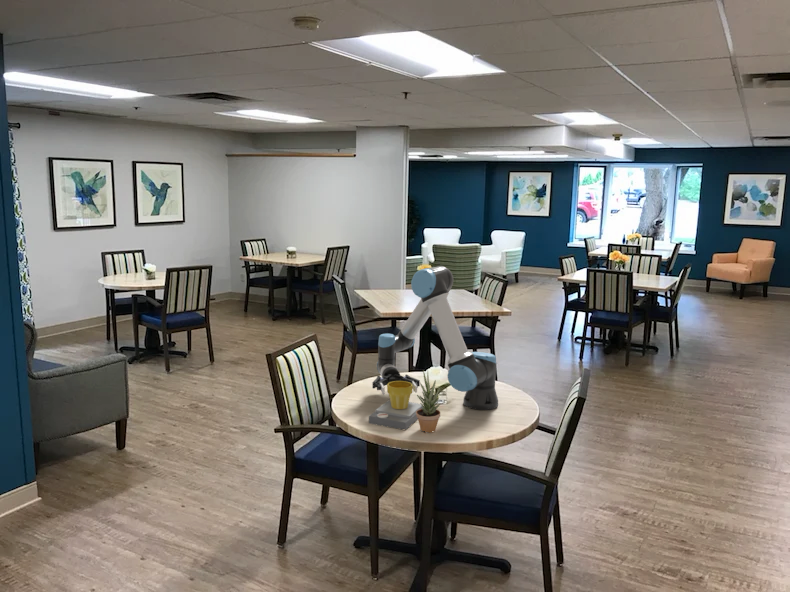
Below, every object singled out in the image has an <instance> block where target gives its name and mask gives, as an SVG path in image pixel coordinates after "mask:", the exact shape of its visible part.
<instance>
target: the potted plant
mask: <svg viewBox="0 0 790 592" xmlns="http://www.w3.org/2000/svg"><path fill="white" fill-rule="evenodd" d="M422 373H423V381H424V385H425V387H424V385H423V384H422V383H421V381H420V387H421V389H422V391H421V393H422V396H423V397H422V396H421V395H418V394H416V396H417V399H419V401H420V403H419V404H421V405H422V406H423V407H424V408H422V409H419V410H417V411H416V416H417V418H418V420H417V421H418V424H419V430H420V431H421V430H422V431H425V432H424V433H426V432H431V433H433V432H432V431H434V432H436V429H437V426H438V423H439V419H440V417H441V411H440V410H439V409H438V408H439V407H440V406H441V404H442V403H439V401H438V400H439V398H440V397H439V392H440V390H441V389H440V387H438V390H437V391H436V392H435V387H436V382H437V381H436V379H434V381H433V384H432V387H431V385H430V379H429V378H430V377H429V370H427V376H426V375H425V370H422ZM426 377H427V378H426ZM434 392H435V393H434ZM438 403H439V404H438ZM422 431H421V432H422Z"/></svg>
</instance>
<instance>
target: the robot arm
mask: <svg viewBox="0 0 790 592" xmlns="http://www.w3.org/2000/svg"><path fill="white" fill-rule="evenodd" d="M453 285H454V275H453V273H452V271H451V270H450V269H449V268H447V267H445V266H443V265H436V266H433V267H425V268H422V269H419V270H417V271H416V272H415V273H414V274H413V276H412V278H411V282H410V286H411V291H412V293H414V295H415V296H417V297H418V298H420V300H419V301H418V303H417V304H416V306H415V308H414V309H413V311H412V312H411V313H410V315H409V317H408V319H406V321H405V323H404V324H403V326H402V328H401V329H400V330H399V332H398V333H397V334H396V335H394V334H393V333H382V334H380V335H379V336H378V343H377V346H378V350H377V354H378V358H377V362H376V370H377V372H378V373H379V374H380V375H377V377H376V378H375V379H374V380H373V381H372V389H376V390H377V391H381V392H380V393H382V395H385V393H386V392H385V390H386V389H385V386H387V384H388V383H389V382H392V381H406V382H410V383H411V384H412V391H413V392H415V393H417V392H418V387H421V385H420V382H421V381H420V380H419V379H417V378H415V377H412V376H410V375H408V374H405V376H404V375H403V376H402V375H401V374H400V372H399V370H398V369H397V367H396V366H395V364H396V363H395V359H396V353H399V352H402V351H404V350H408V349H411V348H412V347H413V346H414V344H415V343H416V339H415V338H416V336H417V335H418V334H419V332H420V331H421V329H422V328H423V327H424V325H425V324H426V322H427V321H428V319H429V318H430V316H431V317H432V319H433V322H434V324H435V327H436V329H437V332H438V334H439V337H440V339H441V341H442V344H443V347H444V349H445V352H446V354H447V357H448V361H447V363H446V364H447V367H448V369H449V370H448V371H447V372H448V373H447V380H448V383H449V385H450V386H451V387H452V388H453V389H454V390H456V391H458V392H464V393H465V394H464V396H463V405H464V406H465V407H467V408H469V409H472V410H479V411H488V410H489V411H490V410H493V409H496V408H497V406H499V399H498V393H497V391H496V374H497V356H496V355H495V354H493V353H488V352H483V351H472V352H471V351H469V350H468V347H467V345H466V343H465V341H464V337H463V334H462V332H461V330H460V327H459V325H458V322H457V320H456V318H455V314H454V312H453V310H452V308H451V305H450V303H449V301H448V295H449V294H450V293H449V292H450V291H451V289H452V287H453Z"/></svg>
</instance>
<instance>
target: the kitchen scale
mask: <svg viewBox="0 0 790 592" xmlns="http://www.w3.org/2000/svg"><path fill="white" fill-rule="evenodd" d="M421 404H422V403H421ZM421 404H420V403H418V402H411V401H409V403H408V407H407V408H406V409H402V410H399V409H394V408H392V406H391V401H390V399H389V400H387V401H386V402H384V403H383V404H381V405H380V406H379V407H377V408H376V409H375V411H373V412H372V413H371V414H369V415H368V424H370V425H371V424H372V425H376V424H377V426H381V425H383V426H382V427H387V426H388V427H387V428H392V427H394V428H393V429H397V428H400V429H399V430H402V429H405V430H404V431H406V430H408V428H409V426H410V425H411V424H412V425H414V423H416V421H418V420H417V419H418V418H417V416H416V411H417V410H419V409H422V408H424V407H423V406H424V405H423V406H422V405H421ZM412 425H411V426H412ZM411 426H410V427H411Z"/></svg>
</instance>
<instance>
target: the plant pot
mask: <svg viewBox="0 0 790 592" xmlns="http://www.w3.org/2000/svg"><path fill="white" fill-rule="evenodd" d="M386 387H387V388H386V389H387V391H386V392H387V394H388V396H389V397H388V398H389V400H390V401H391V406H392V408H394V409H399V410H402V409H406V408H407V407H408V403H409V402H410V398H411V394H412V393H413V389H412V384H411V383H410V382H406V381H392V382H389V383H388V384H387V385H386Z"/></svg>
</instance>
